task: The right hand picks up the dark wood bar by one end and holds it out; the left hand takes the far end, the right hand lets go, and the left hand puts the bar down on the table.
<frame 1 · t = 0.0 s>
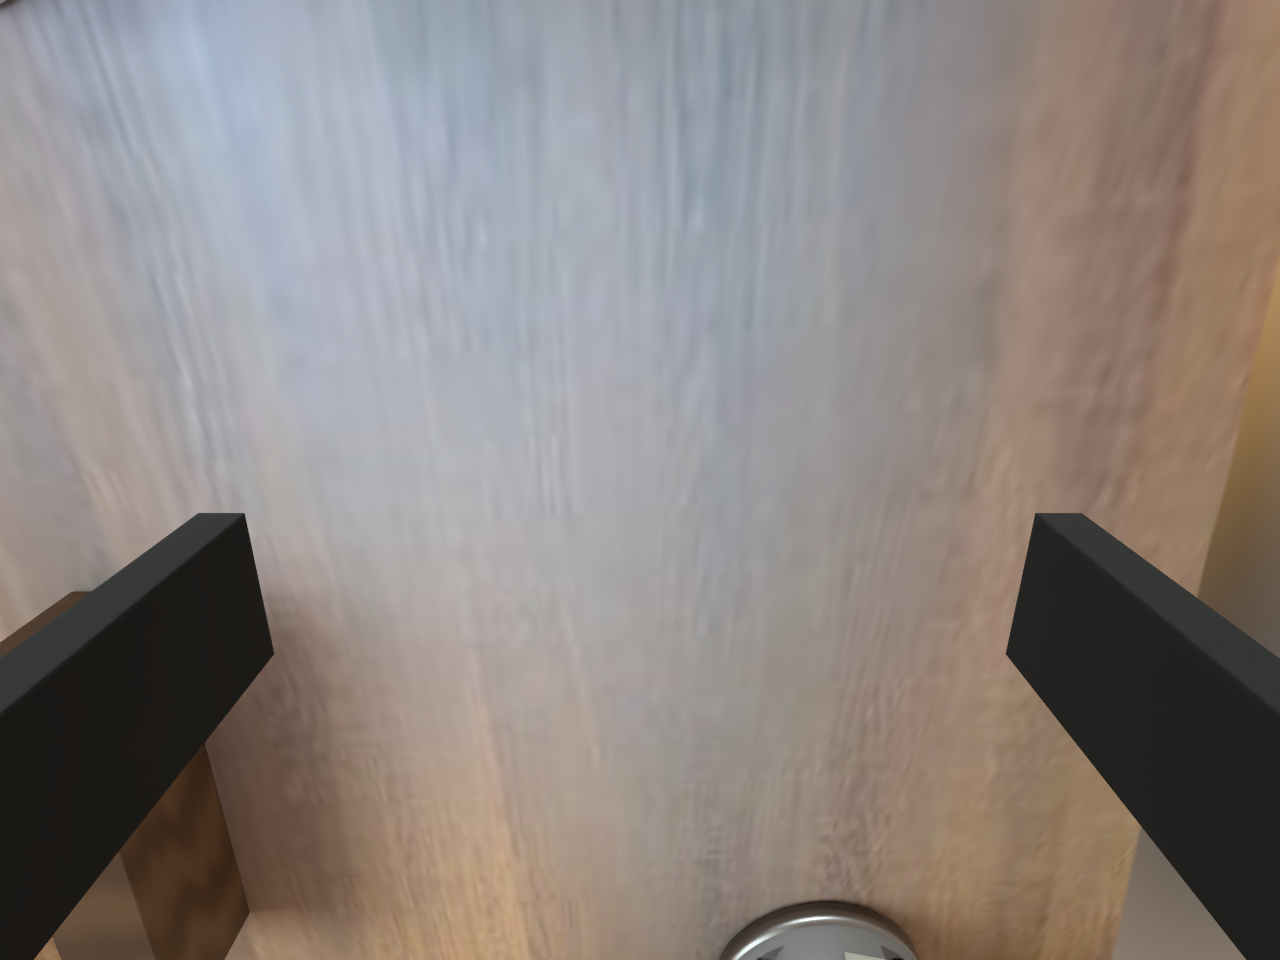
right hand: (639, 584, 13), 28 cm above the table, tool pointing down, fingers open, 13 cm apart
bar: (169, 768, 49), on the table
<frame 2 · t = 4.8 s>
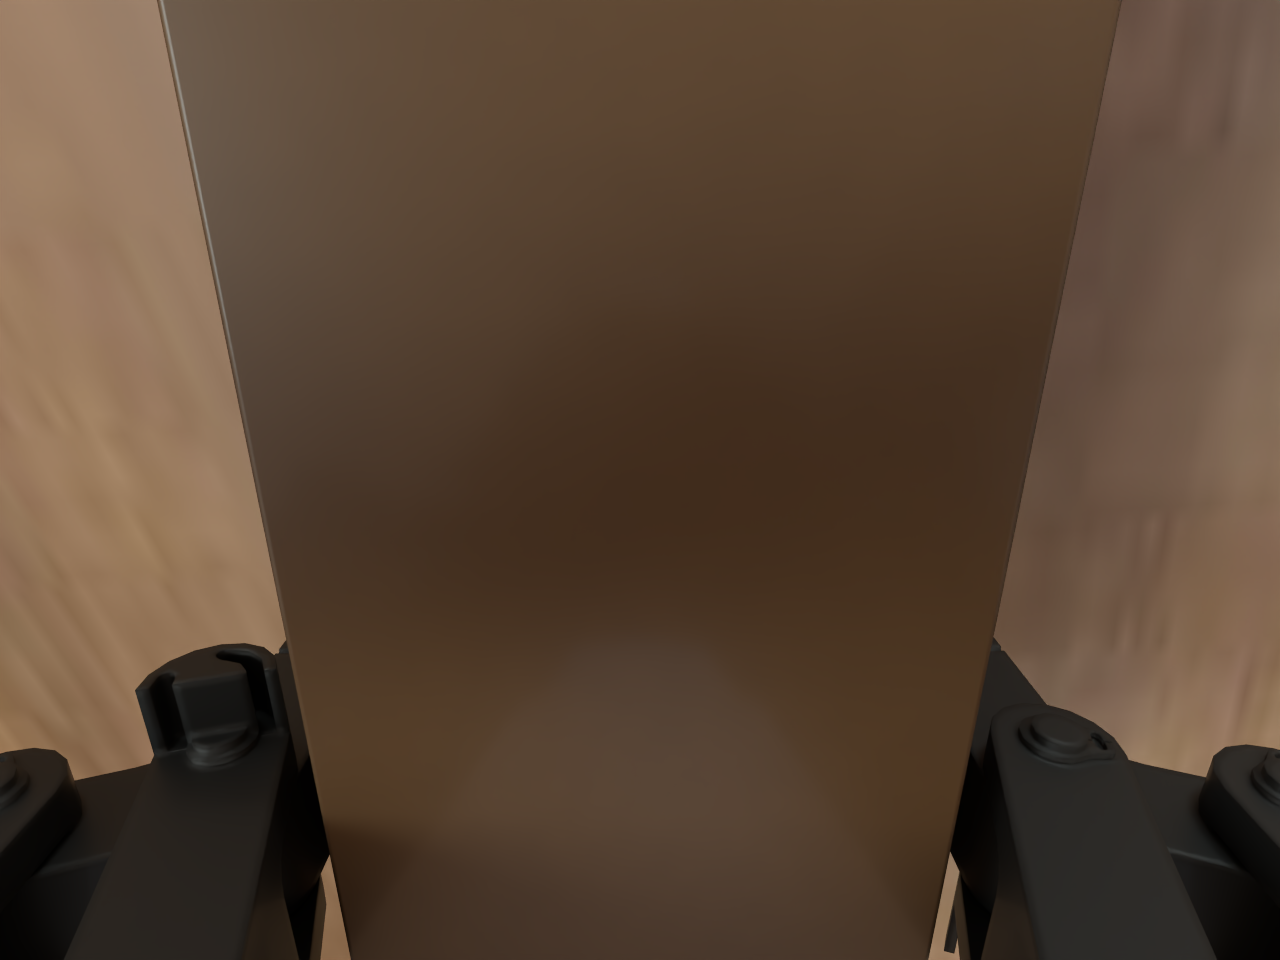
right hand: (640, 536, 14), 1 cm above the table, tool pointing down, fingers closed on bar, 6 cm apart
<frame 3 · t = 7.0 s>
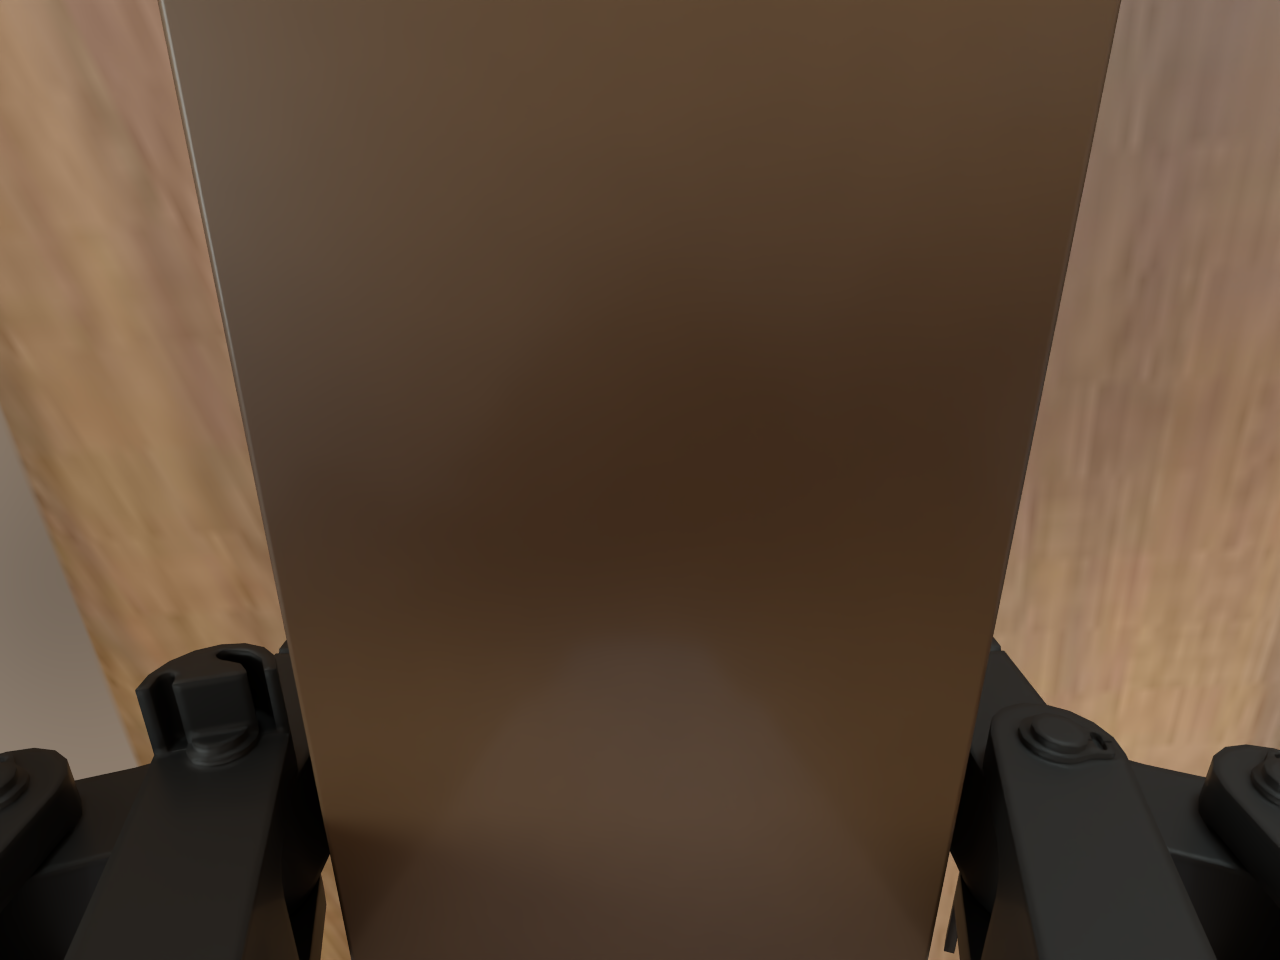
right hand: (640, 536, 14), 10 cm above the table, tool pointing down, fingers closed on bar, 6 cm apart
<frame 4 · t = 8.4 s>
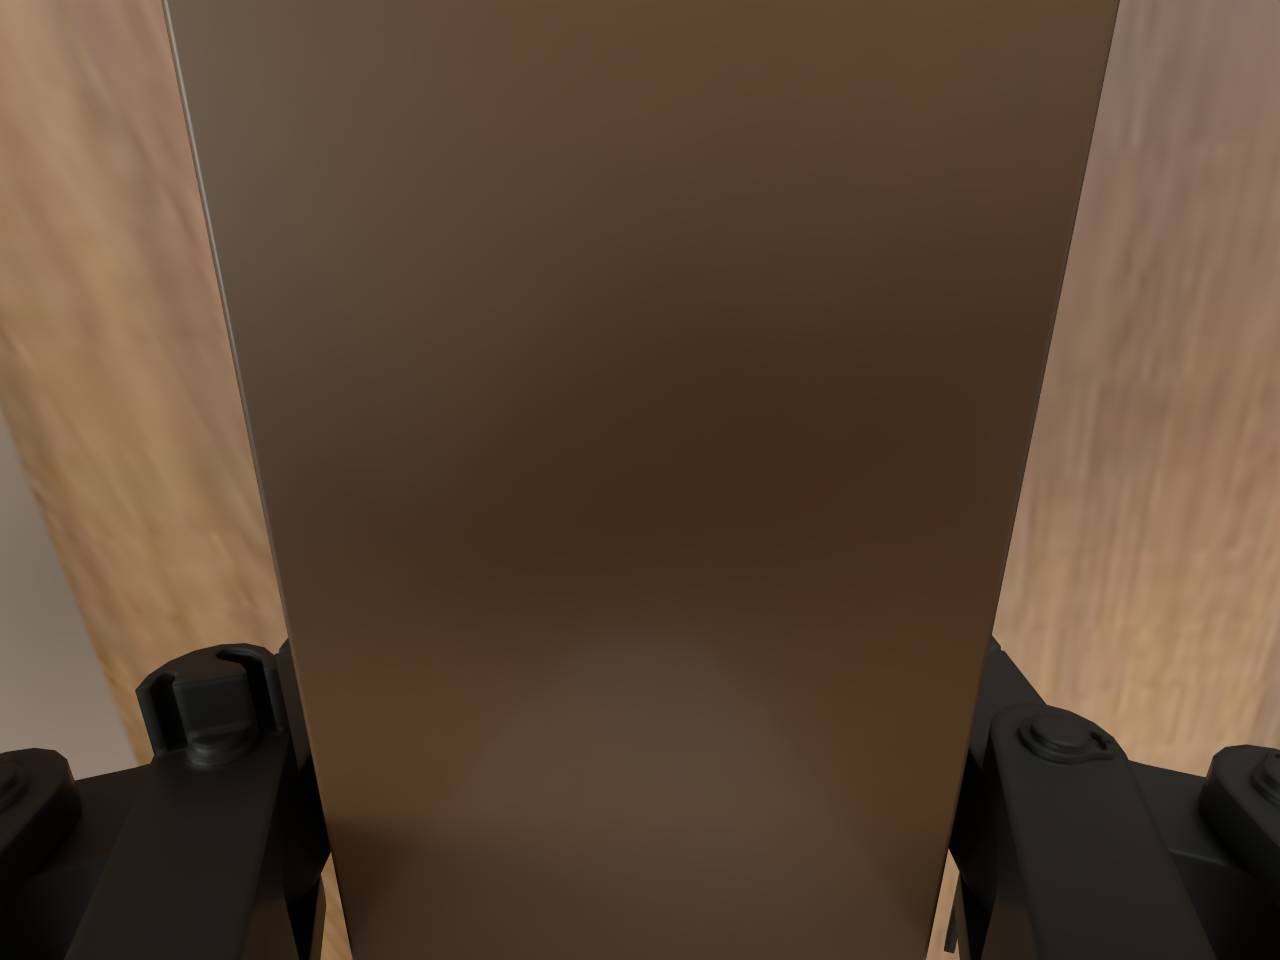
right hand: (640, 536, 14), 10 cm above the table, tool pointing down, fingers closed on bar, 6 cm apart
when the right hand's fingers open (10 cm above the table, at t = 9.4 s): bar stays where it is, held by the left hand.
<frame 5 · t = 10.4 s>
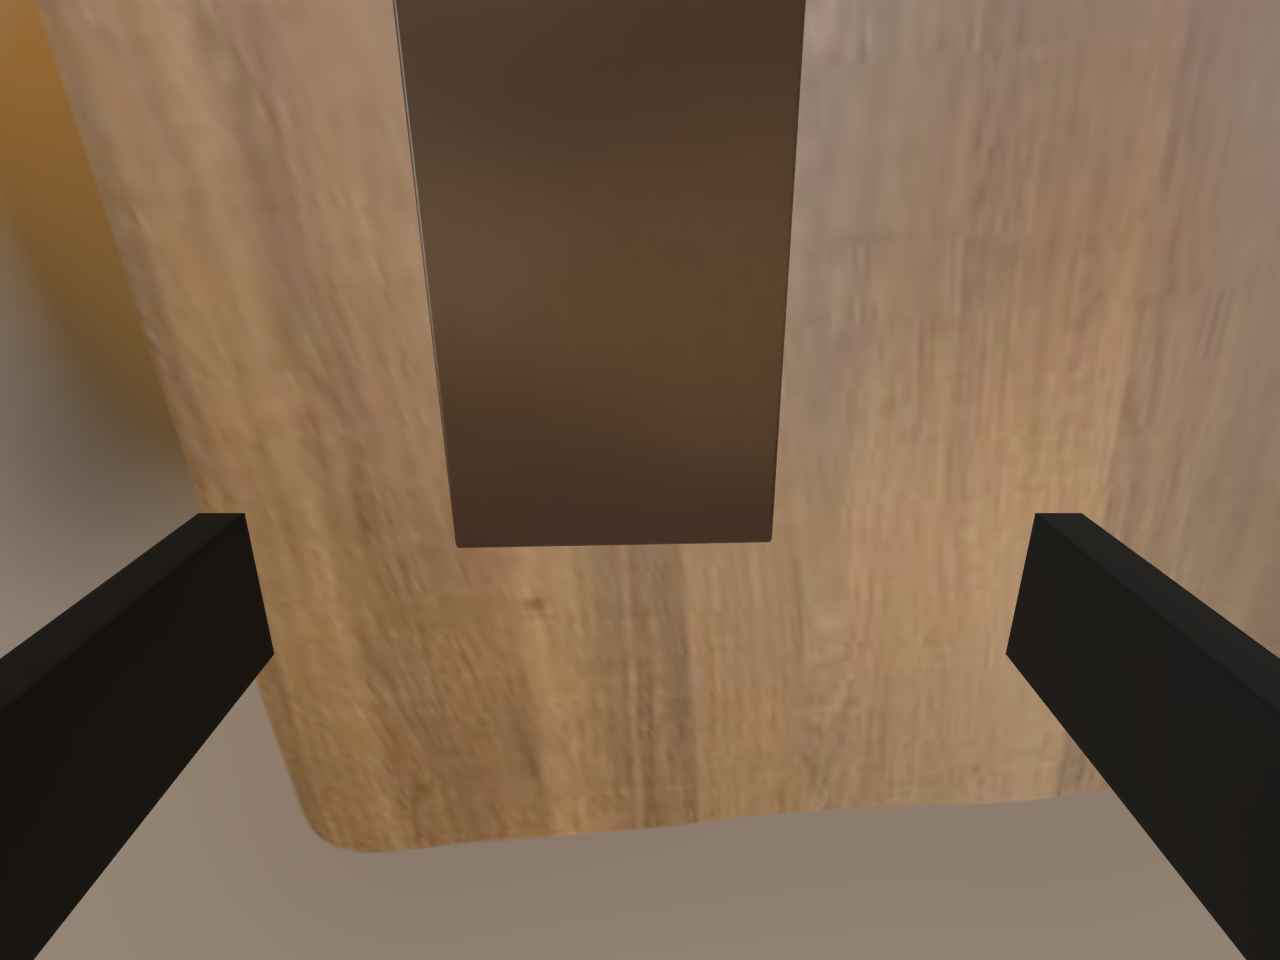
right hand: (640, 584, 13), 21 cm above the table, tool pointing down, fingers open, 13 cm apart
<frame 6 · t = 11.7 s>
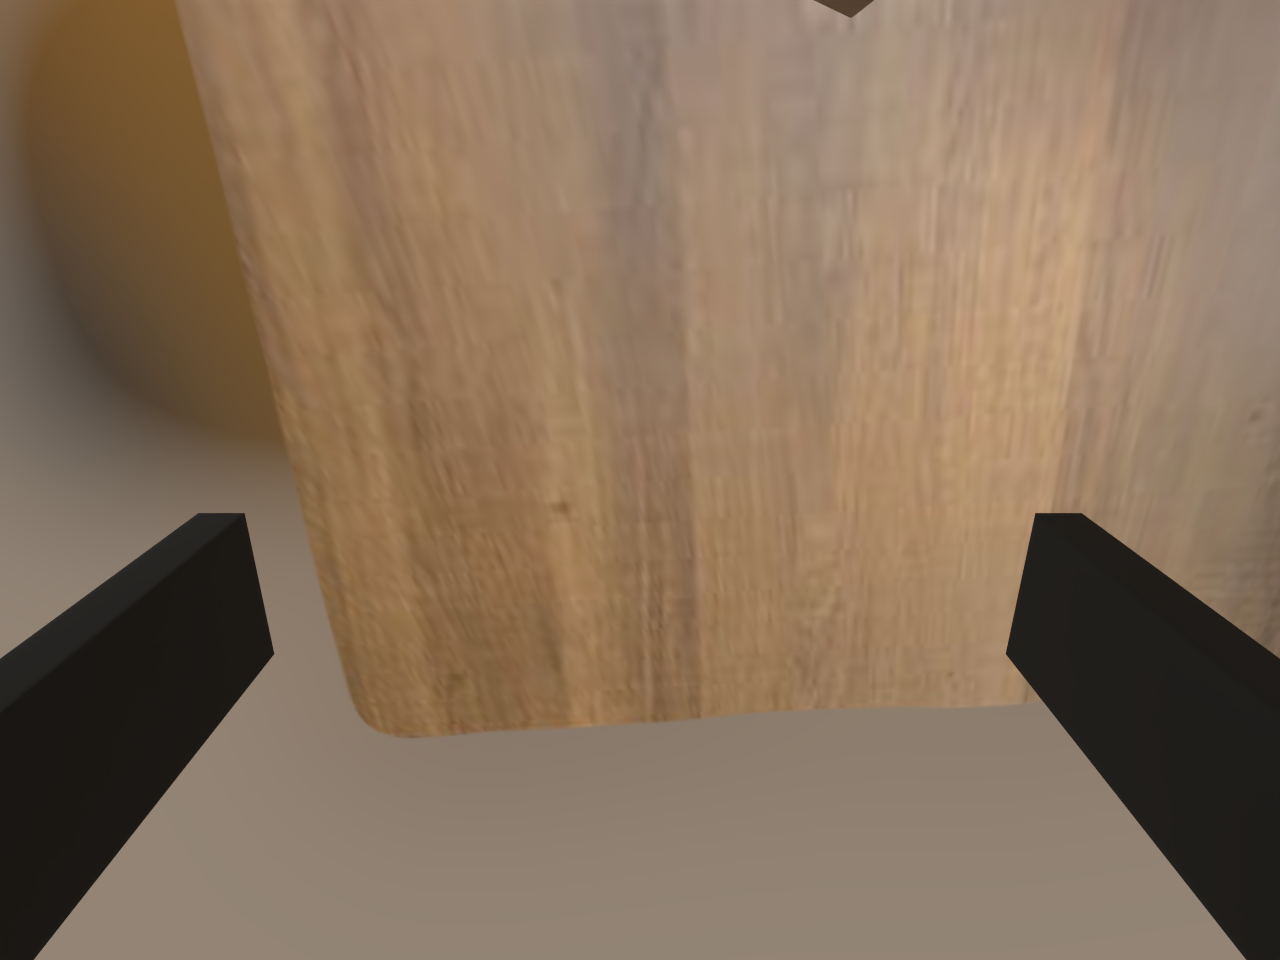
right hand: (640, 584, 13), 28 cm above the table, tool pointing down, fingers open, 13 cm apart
when the left hand's fingers open (5 cm above the table, at t = 15.3 s): bar drops 2 cm, on the table.
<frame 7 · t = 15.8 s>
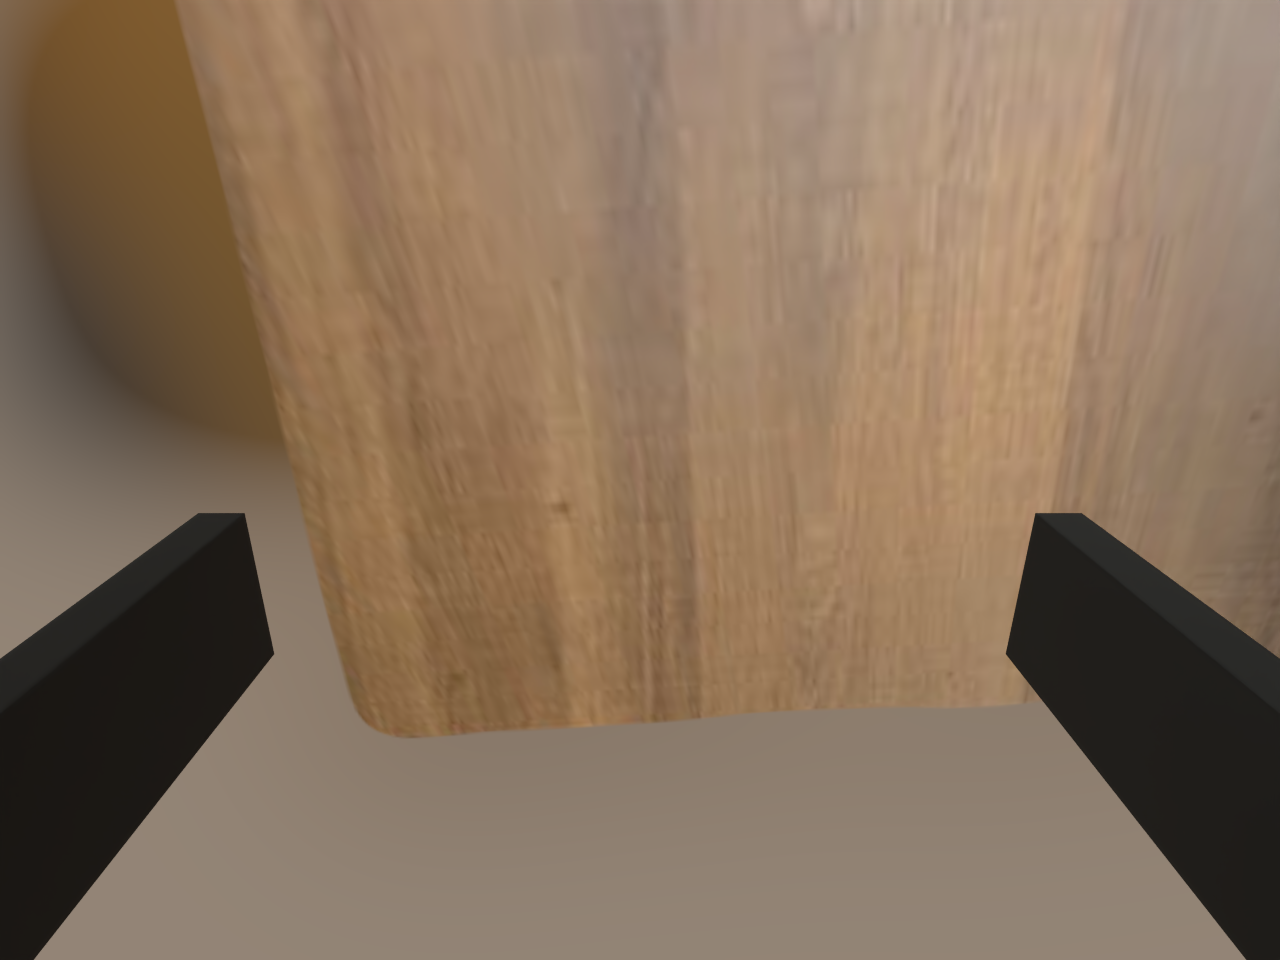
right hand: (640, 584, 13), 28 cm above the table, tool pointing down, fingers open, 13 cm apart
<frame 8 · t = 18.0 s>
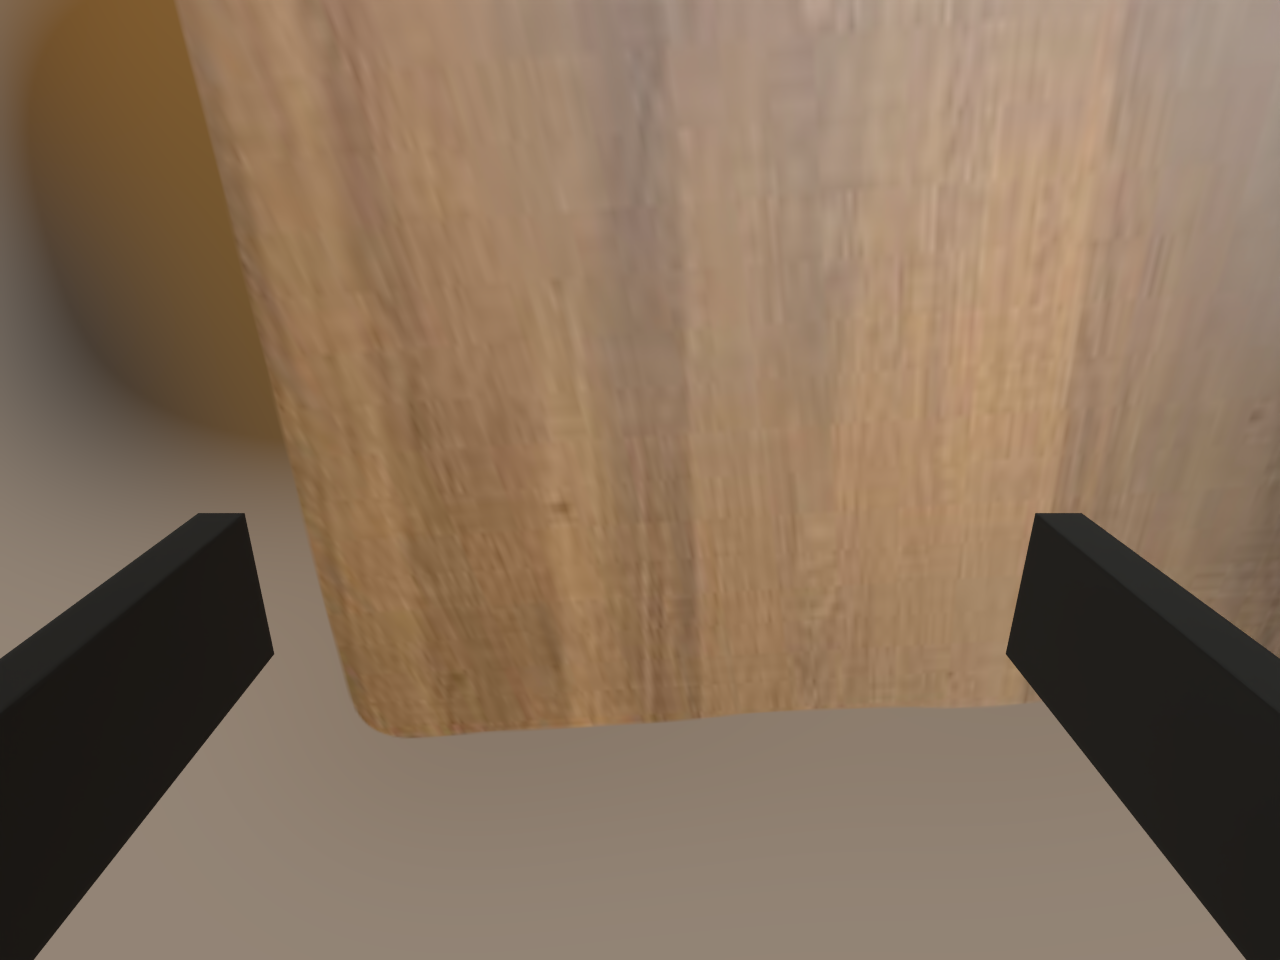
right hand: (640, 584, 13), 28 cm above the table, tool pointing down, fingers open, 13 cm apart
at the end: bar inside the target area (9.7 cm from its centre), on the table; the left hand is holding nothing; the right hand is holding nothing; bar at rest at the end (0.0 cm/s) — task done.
